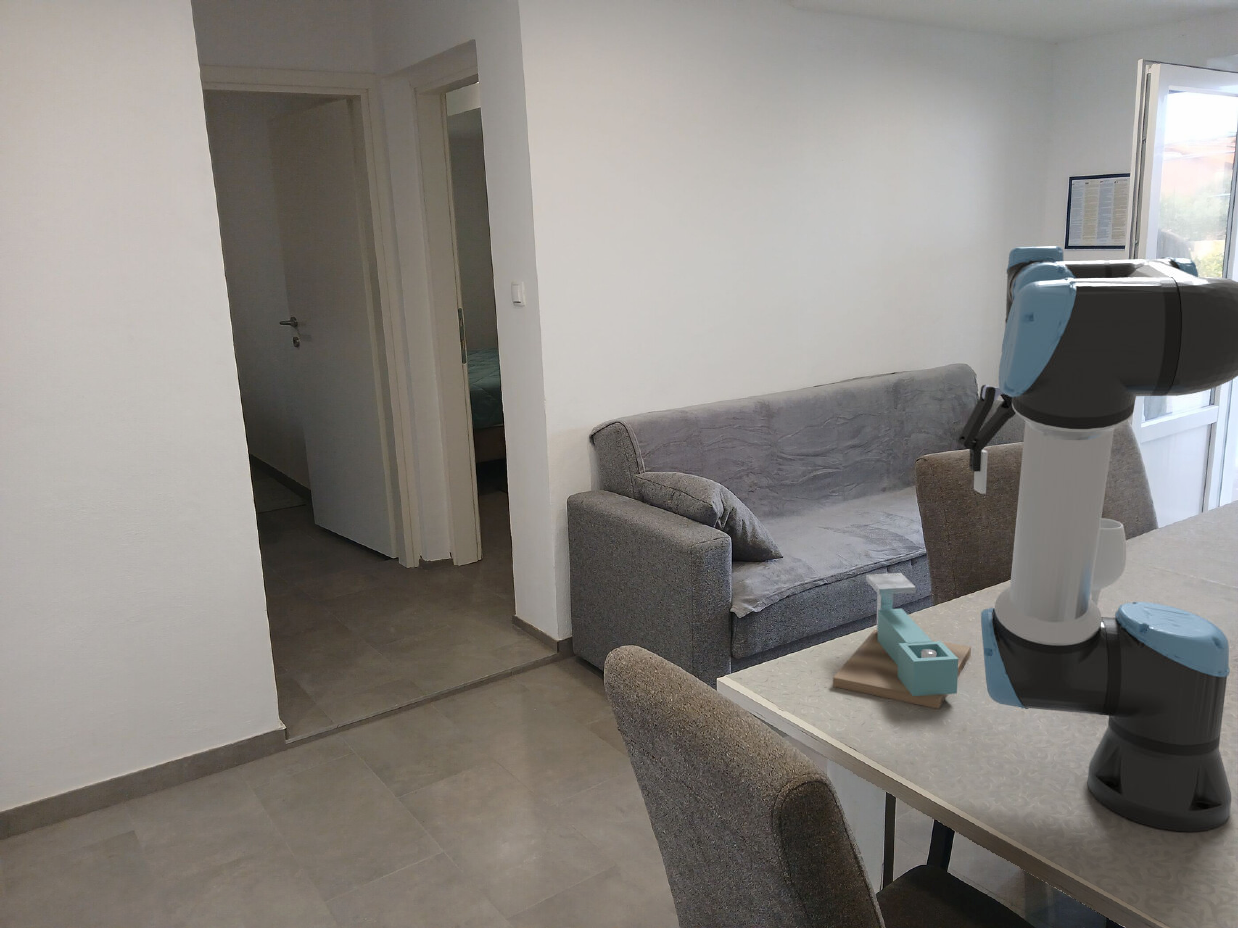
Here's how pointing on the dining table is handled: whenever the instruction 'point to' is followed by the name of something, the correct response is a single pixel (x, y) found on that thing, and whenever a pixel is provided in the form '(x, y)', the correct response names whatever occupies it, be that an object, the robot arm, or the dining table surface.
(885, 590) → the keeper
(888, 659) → the board
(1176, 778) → the robot arm
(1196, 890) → the dining table surface
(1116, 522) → the wineglass
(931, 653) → the cylinder
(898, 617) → the link
